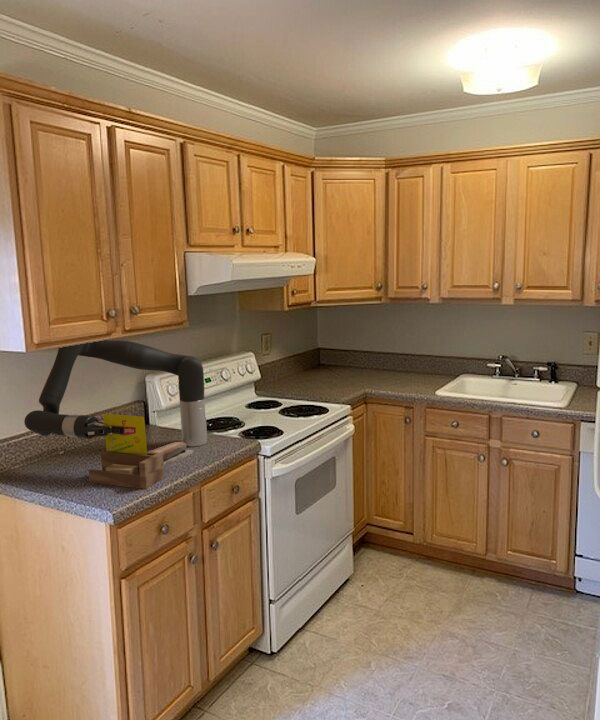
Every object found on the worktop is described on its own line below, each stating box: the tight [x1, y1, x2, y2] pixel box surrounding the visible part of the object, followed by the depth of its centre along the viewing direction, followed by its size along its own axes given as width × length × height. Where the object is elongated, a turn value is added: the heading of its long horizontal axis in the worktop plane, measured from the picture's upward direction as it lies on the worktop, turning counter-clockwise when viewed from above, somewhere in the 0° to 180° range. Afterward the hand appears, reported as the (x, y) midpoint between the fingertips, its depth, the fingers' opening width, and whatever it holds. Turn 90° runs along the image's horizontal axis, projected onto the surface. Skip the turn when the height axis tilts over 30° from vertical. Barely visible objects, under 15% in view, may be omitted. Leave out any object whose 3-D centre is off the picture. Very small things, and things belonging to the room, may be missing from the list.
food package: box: [102, 413, 148, 455], centre depth 190 cm, size 15×1×20 cm, turn 71°
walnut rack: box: [88, 449, 165, 490], centre depth 187 cm, size 10×21×8 cm, turn 71°
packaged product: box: [148, 441, 194, 467], centre depth 208 cm, size 18×5×10 cm
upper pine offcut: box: [106, 464, 138, 474], centre depth 187 cm, size 4×9×2 cm, turn 72°
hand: (124, 430), depth 189 cm, fingers closed on food package, 1 cm apart
